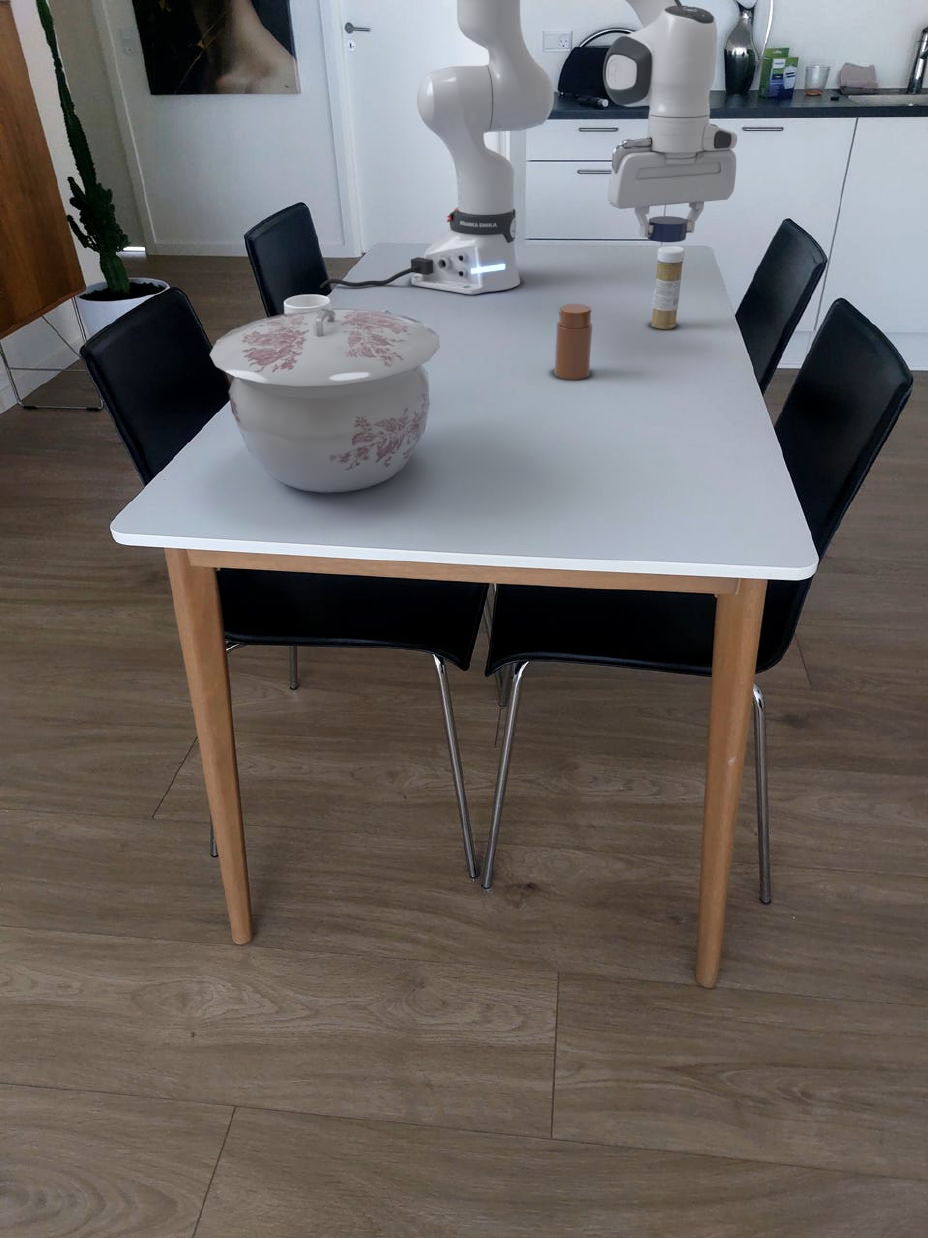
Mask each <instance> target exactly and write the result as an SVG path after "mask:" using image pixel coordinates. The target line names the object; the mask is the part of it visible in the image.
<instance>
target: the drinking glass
mask: <svg viewBox="0 0 928 1238" xmlns="http://www.w3.org/2000/svg"><path fill="white" fill-rule="evenodd" d="M331 302H332V301H331V299H330V297H327V296H326V295H321V294H299V295H294V296H291V297H288V298H286V299H285V300H284V301H283V312H284V313H283V314H286V313H292V312H300V311H308V310H316V309H323V308H331V309H333V308H332V303H331Z"/></svg>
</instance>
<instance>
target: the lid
mask: <svg viewBox="0 0 928 1238" xmlns="http://www.w3.org/2000/svg"><path fill="white" fill-rule="evenodd" d="M648 223H650V224H652V225H654V230H653V236H651V237H646V238H647V239H648V240H649V241H652V242H658V243H679V242H683V241H685V240H686V239H687V233H686V232H687V223H688V220H687V219H686V218H685V217H680V216H675V215H674V216H672V215H671V216H670V215H660V216H659V215H658V216H653V217H650V218H649V219H648Z"/></svg>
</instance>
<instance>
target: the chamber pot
mask: <svg viewBox="0 0 928 1238" xmlns="http://www.w3.org/2000/svg"><path fill="white" fill-rule="evenodd" d="M331 308H332V307H331ZM331 308H323V309H316V310H308V311H300V312H292V313H286V314H284V313H282V314H278V315H273V316H268V317H264V318H262V319H257V320H253V321H251V322H249V323H246V324H244V325H241V326H239V327H236V328H233V329H231V330H229V331H228V332H227V333H225V334H224V335H222V336H221V337H220V338H218V339H217V340H216V341H215V343H214V345H213V347H212V348H211V351H210V353H209V357H210V358H211V360H212V362H213V364H214V366H215V367H216V368H218V369H219V370H221V371H222V372H224V373H227V374H229V375H231V376H232V377H233V379H232V382H231V385H230V387H229V390H228V396H229V402H230V408H231V413H232V416H233V418H234V421H235V423H236V426H237V429H238V432H239V434H240V436H241V439H242V441H243V443H244V446H246V449H247V451H248V452H249V453H250V454H251V455H252V456H253V458H254V459H255V460H256V461H257V462H258V463H259V464H260V465H261V466H262V468H263V469H264V470H265V471H266V472H267V474H269V475H270V476H272V477H274V479H276V480H277V481H279V482H280V483H282V484H283V485H285V486H286V487H290V488H294V489H297V490H300V491H305V492H315V493H325V494H327V493H347V492H352V491H357V490H363V489H367V488H370V487H373V486H376V485H379V484H381V483H384V482H386V481H388V480H389V479H390V478H392V477H394V476H396V475H397V474H398V473H399V472H400V471H401V470H402V469H403V468H404V466H405V465H406V464H407V462H408V460H409V459H410V458H411V456H412V454H413V453H414V451H415V449H416V448H417V446H418V444H419V442H420V441H421V439H422V438H423V436H424V434H425V432H426V426H427V421H428V416H429V411H430V405H431V404H430V381H429V373H428V371H427V370H426V368H425V367H424V364H425V363H427V362H429V361H430V360H432V357H434V355H435V354H436V353H437V352H438V350H439V349H440V348H441V344H440V337H439V334H438V333H437V332H435V331H434V330H433V329H432V328H431V327H429V326H428V325H427V324H426V323H425V322H421V321H419V320H416V319H413V318H412V317H408V316H405V315H402V314H401V315H400V314H395V313H391V312H390V311H389V310H387V309H382V308H381V309H380V310H373V309H359V308H358V309H357V308H332V309H331Z"/></svg>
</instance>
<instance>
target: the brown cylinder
mask: <svg viewBox="0 0 928 1238" xmlns="http://www.w3.org/2000/svg"><path fill="white" fill-rule="evenodd" d="M592 312H593V309H592V308H591V307H590V306H589V305H586V304H583V303H582V304H581V303H568V304H564V305H561V306H560V307H559V311H558V315H559V316H558V317H559V318H558V320H559V321H558V322H556V331H555V332H556V333H555V335H556V336H555V353H554V354H555V355H554V356H555V357H554V375H555V376H556V377H557V378H558V379H562V380H570V381H577V380H584V379H586V378H588V377H589V375H590V368H591V353H592V338H593V337H592V336H593V322H592V321H591V318H592V316H591V315H592Z"/></svg>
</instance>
